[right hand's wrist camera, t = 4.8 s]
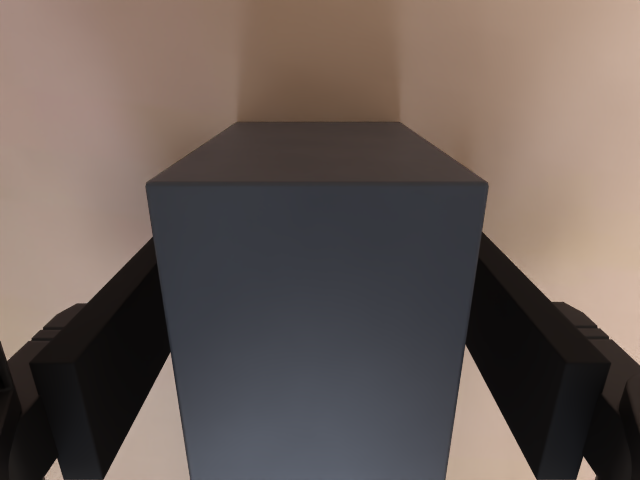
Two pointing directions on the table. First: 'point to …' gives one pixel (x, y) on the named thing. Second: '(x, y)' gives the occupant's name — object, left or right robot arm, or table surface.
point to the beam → (317, 299)
